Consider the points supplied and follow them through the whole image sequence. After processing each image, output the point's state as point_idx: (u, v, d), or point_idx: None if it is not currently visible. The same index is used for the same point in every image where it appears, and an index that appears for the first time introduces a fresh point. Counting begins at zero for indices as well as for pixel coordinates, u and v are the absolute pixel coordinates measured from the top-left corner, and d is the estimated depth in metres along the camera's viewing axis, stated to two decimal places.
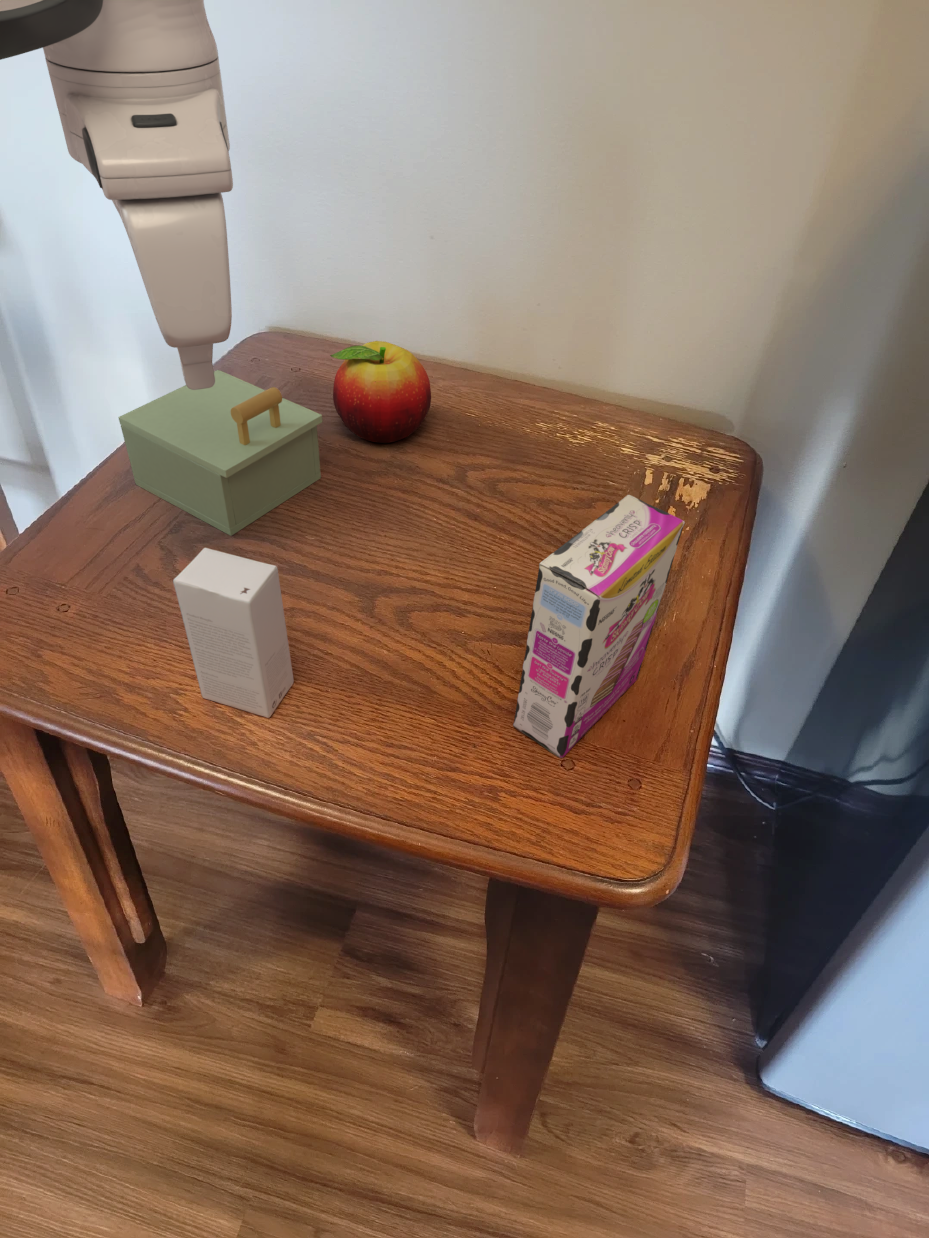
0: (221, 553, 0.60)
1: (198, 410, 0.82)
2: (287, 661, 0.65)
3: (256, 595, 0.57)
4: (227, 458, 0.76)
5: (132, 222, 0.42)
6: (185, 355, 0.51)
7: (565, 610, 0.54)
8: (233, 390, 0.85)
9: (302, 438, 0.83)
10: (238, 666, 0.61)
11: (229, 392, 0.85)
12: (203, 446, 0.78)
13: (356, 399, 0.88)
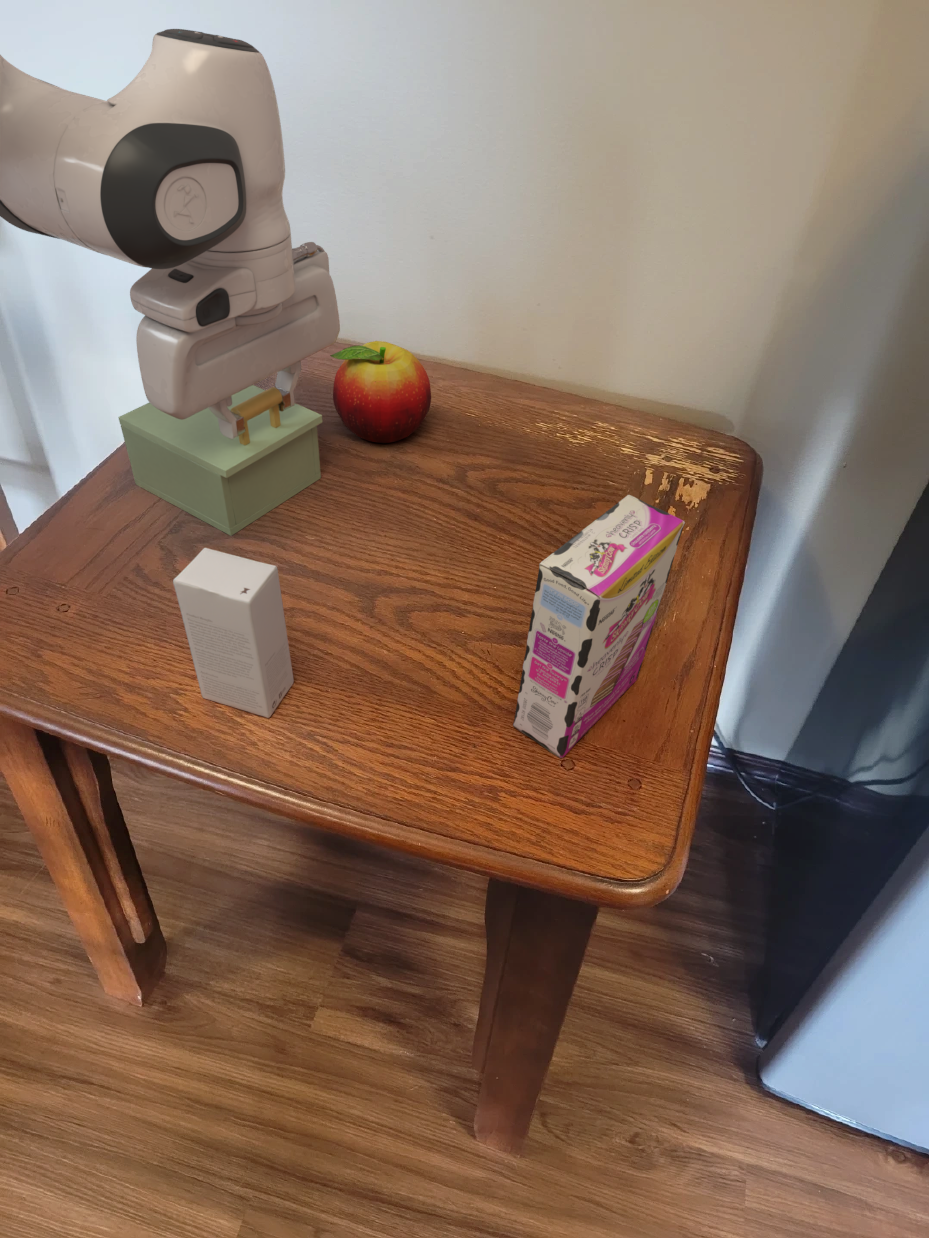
0: (221, 553, 0.60)
1: None
2: (287, 661, 0.65)
3: (256, 595, 0.57)
4: (227, 458, 0.76)
5: (138, 327, 0.66)
6: (213, 411, 0.74)
7: (565, 610, 0.54)
8: None
9: (302, 438, 0.83)
10: (238, 666, 0.61)
11: None
12: (203, 446, 0.78)
13: (356, 399, 0.88)
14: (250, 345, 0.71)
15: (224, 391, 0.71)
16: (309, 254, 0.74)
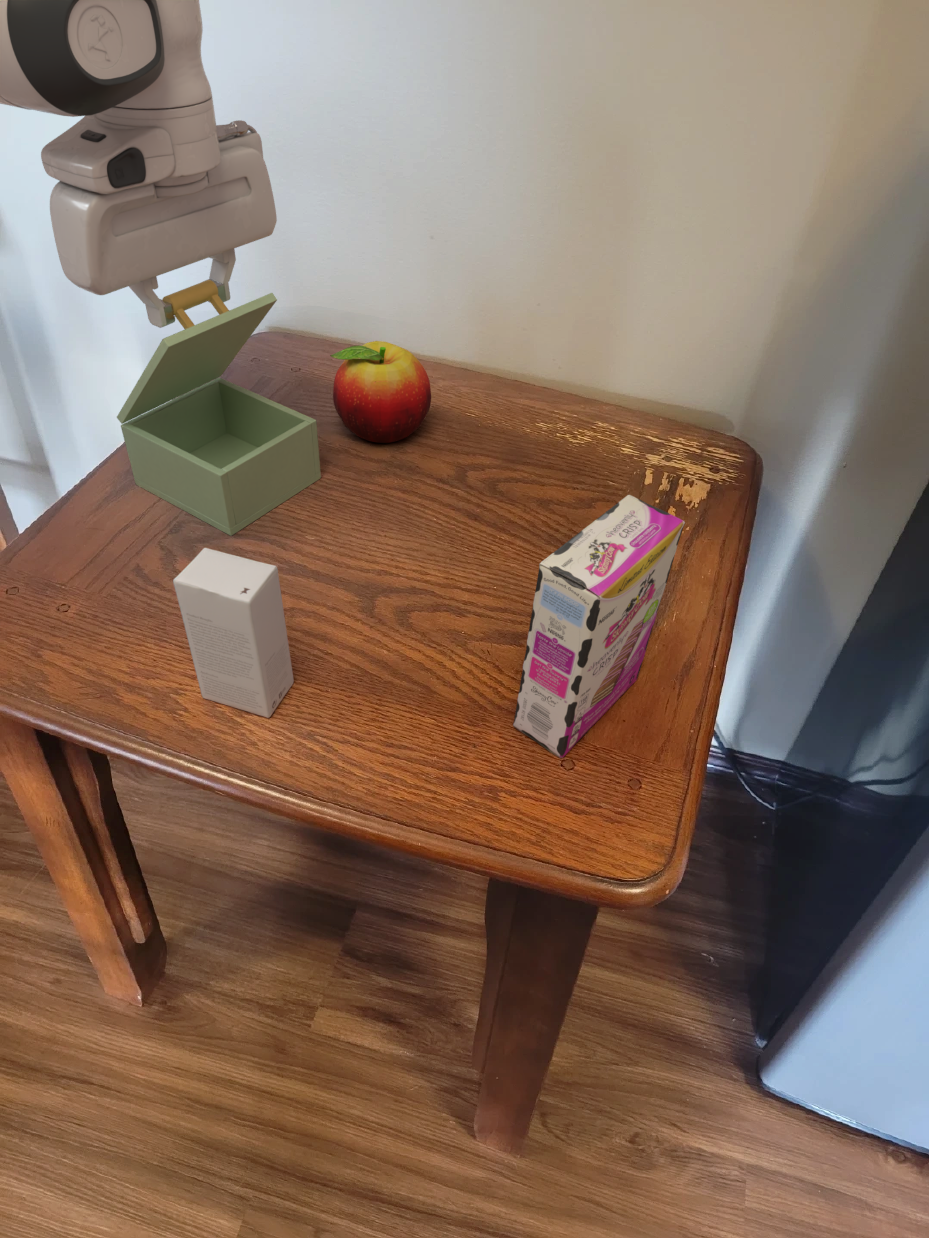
0: (221, 553, 0.60)
1: None
2: (287, 661, 0.65)
3: (256, 595, 0.57)
4: None
5: (51, 194, 0.63)
6: (139, 296, 0.71)
7: (565, 610, 0.54)
8: None
9: (302, 438, 0.83)
10: (238, 666, 0.61)
11: None
12: None
13: (356, 399, 0.88)
14: (175, 222, 0.68)
15: (147, 269, 0.68)
16: (239, 132, 0.71)
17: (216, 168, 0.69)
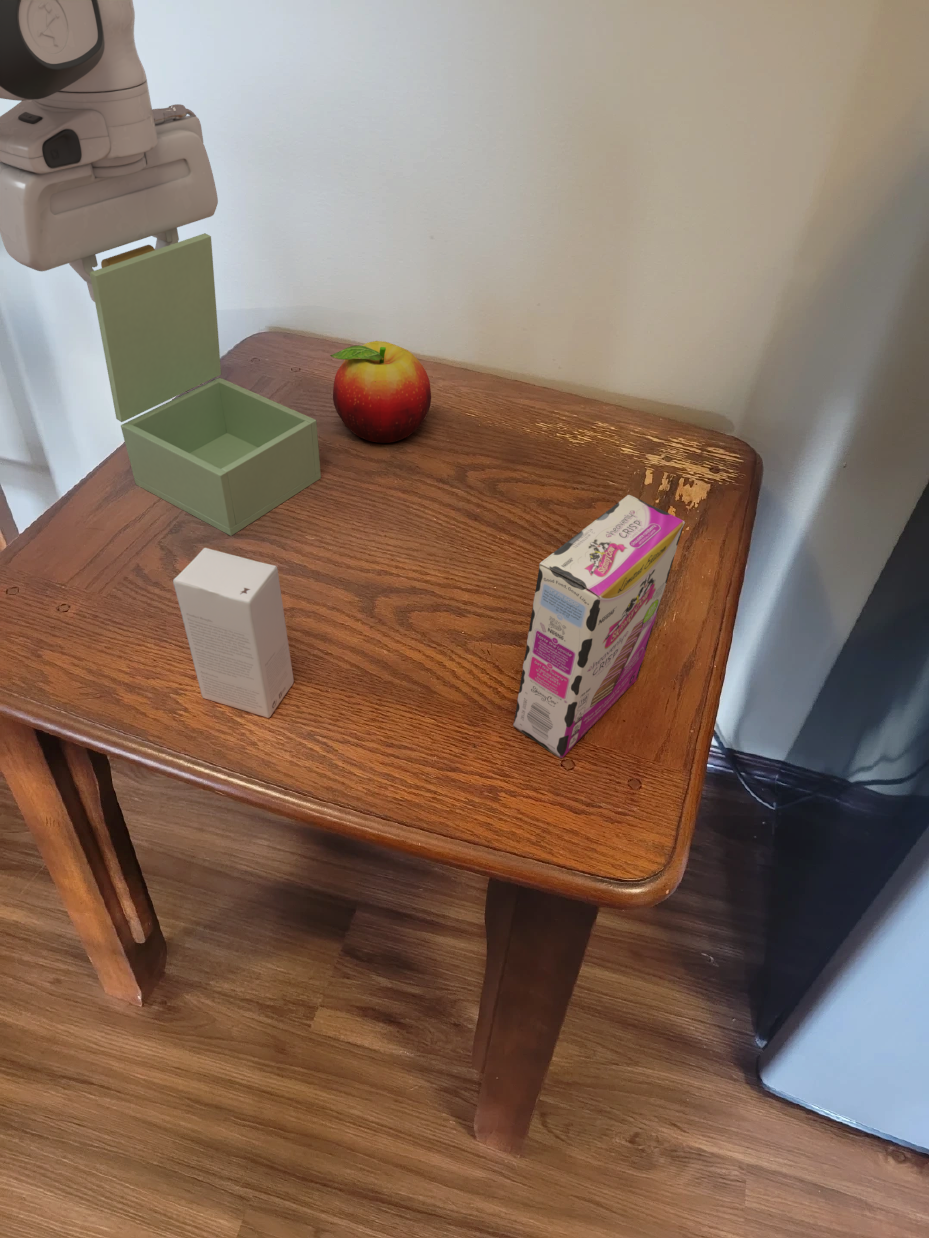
0: (221, 553, 0.60)
1: None
2: (287, 661, 0.65)
3: (256, 596, 0.57)
4: None
5: None
6: (79, 274, 0.74)
7: (565, 610, 0.54)
8: None
9: (302, 438, 0.83)
10: (238, 666, 0.61)
11: None
12: None
13: (356, 399, 0.88)
14: (114, 202, 0.71)
15: (87, 247, 0.71)
16: (177, 116, 0.74)
17: (154, 150, 0.72)
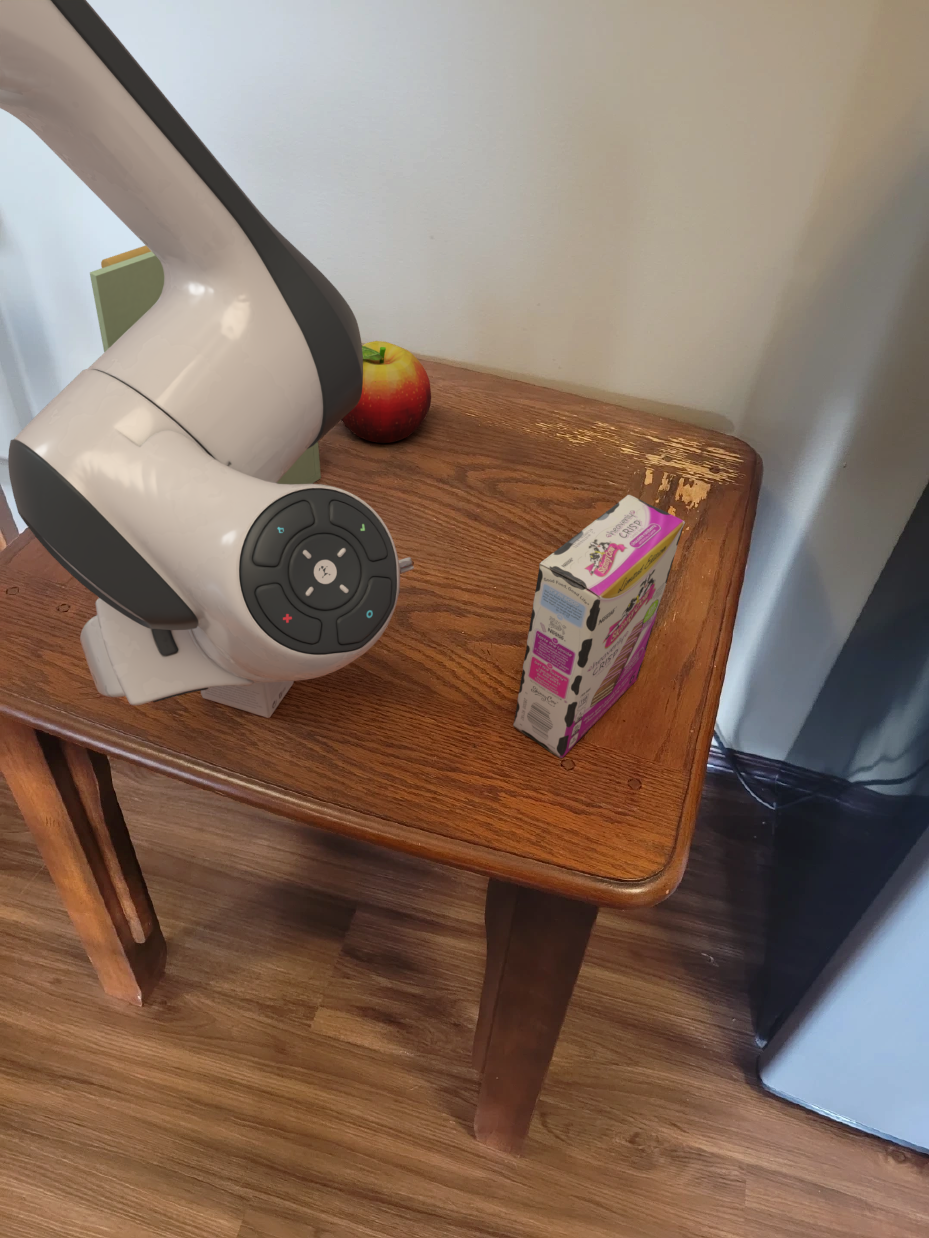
0: None
1: None
2: None
3: None
4: None
5: (93, 621, 0.48)
6: None
7: (565, 610, 0.54)
8: None
9: None
10: None
11: None
12: None
13: None
14: None
15: None
16: None
17: None
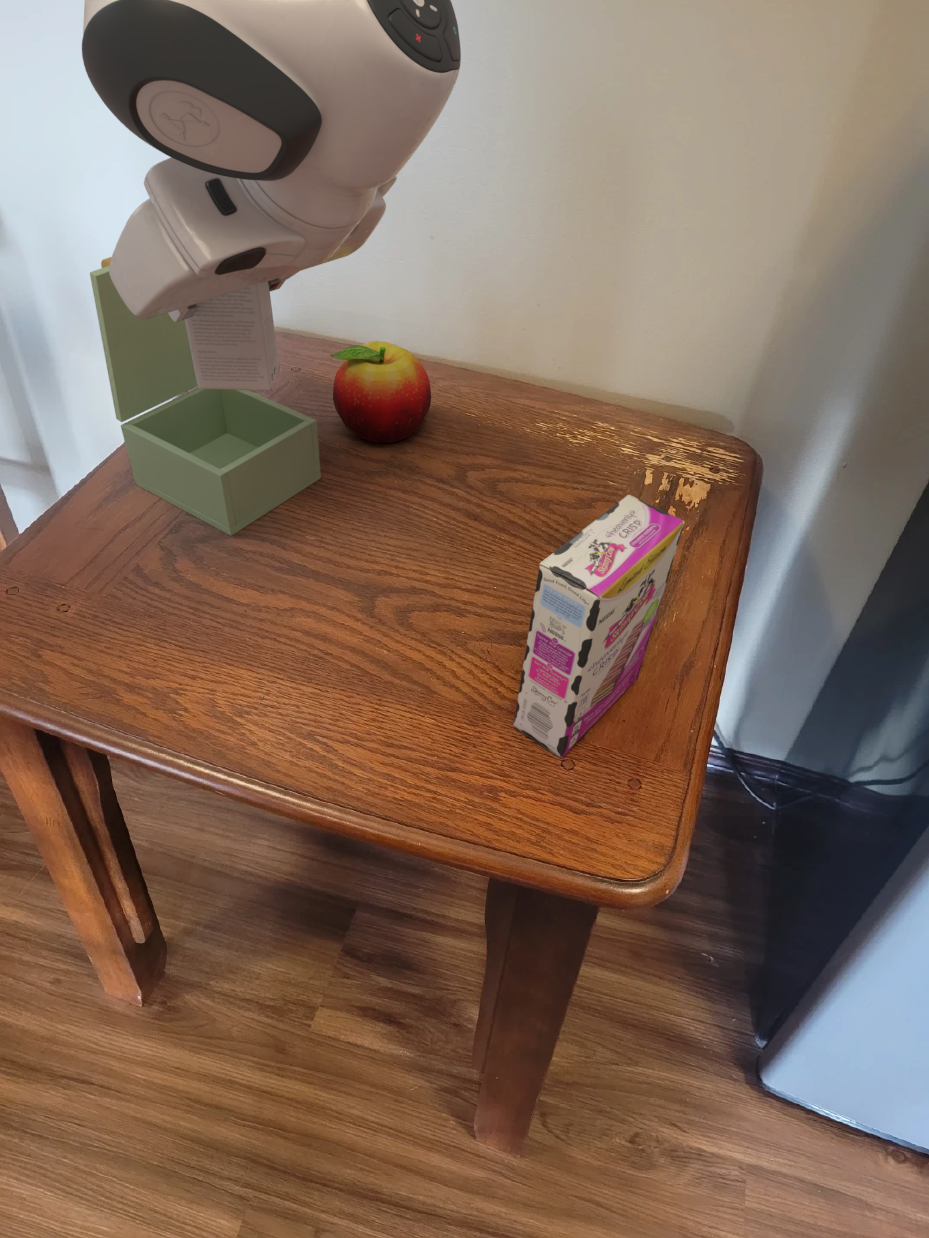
0: None
1: None
2: (274, 337, 0.69)
3: None
4: None
5: (139, 210, 0.51)
6: None
7: (565, 610, 0.54)
8: None
9: (302, 438, 0.83)
10: (238, 330, 0.65)
11: None
12: None
13: (356, 399, 0.88)
14: None
15: (203, 299, 0.58)
16: None
17: None
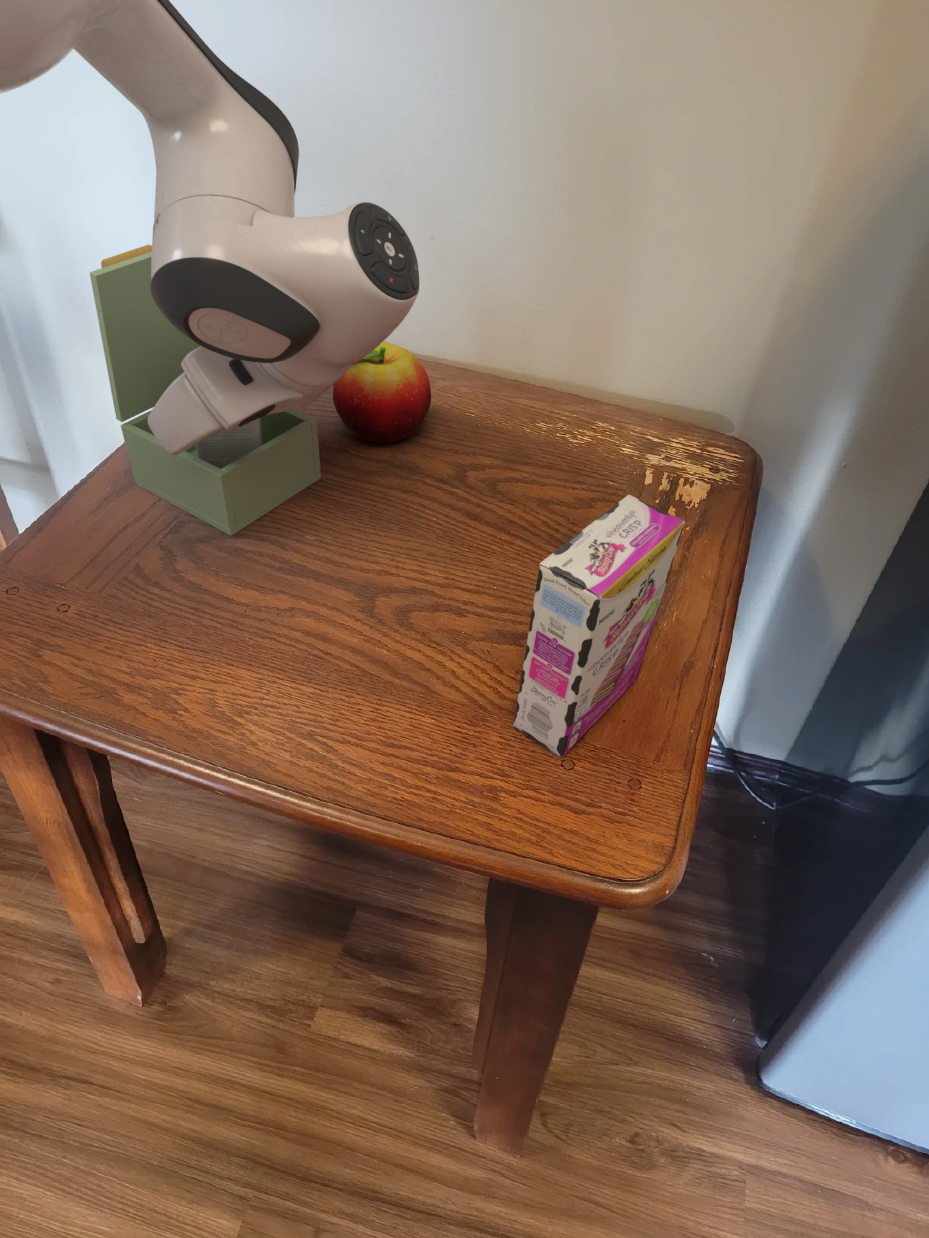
0: None
1: None
2: (263, 444, 0.85)
3: None
4: None
5: (176, 382, 0.67)
6: None
7: (565, 610, 0.54)
8: None
9: (302, 438, 0.83)
10: (238, 445, 0.81)
11: None
12: None
13: (356, 399, 0.88)
14: None
15: (217, 432, 0.75)
16: None
17: None
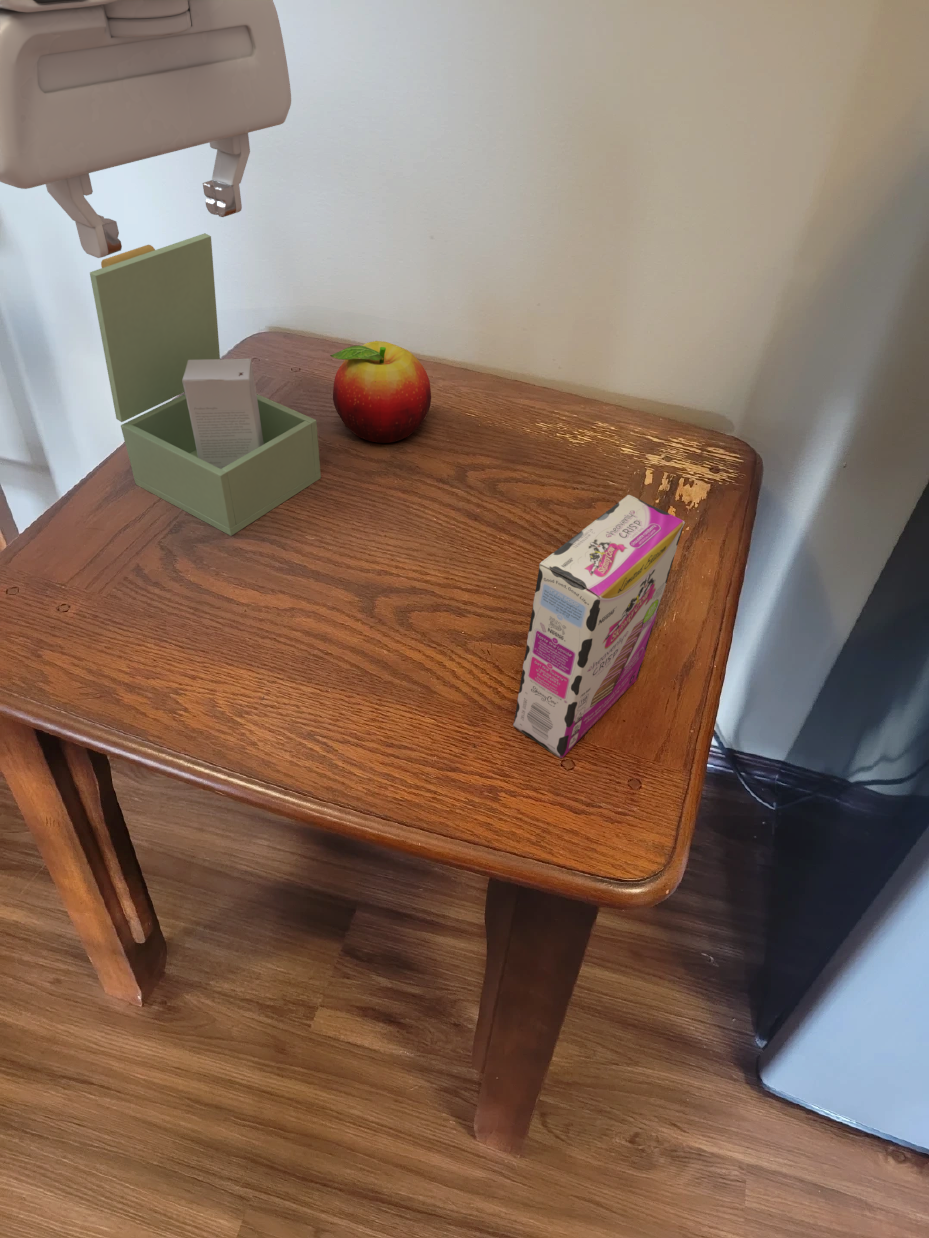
0: (204, 360, 0.79)
1: None
2: (263, 444, 0.85)
3: (250, 376, 0.77)
4: None
5: None
6: (64, 208, 0.47)
7: (565, 610, 0.54)
8: None
9: (302, 438, 0.83)
10: (238, 445, 0.81)
11: None
12: None
13: (356, 399, 0.88)
14: (140, 82, 0.45)
15: (98, 154, 0.45)
16: None
17: (203, 4, 0.46)
